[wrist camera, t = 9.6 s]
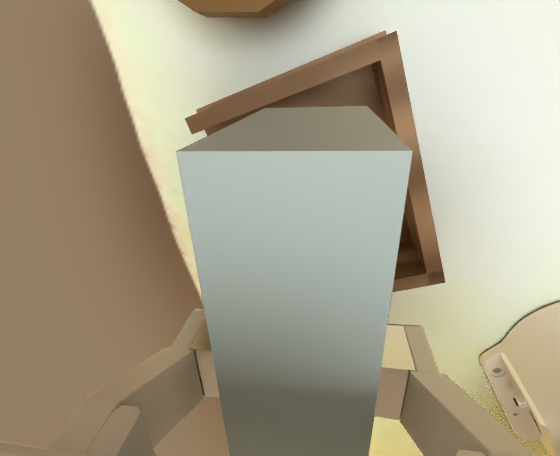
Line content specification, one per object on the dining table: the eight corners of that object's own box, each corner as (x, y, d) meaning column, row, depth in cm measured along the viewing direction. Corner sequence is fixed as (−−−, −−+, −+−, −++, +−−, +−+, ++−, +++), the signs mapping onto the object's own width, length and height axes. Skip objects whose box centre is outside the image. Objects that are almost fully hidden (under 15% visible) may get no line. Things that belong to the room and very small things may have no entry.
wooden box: (426, 244, 33) (450, 287, 26) (275, 277, 37) (261, 321, 31) (382, 32, 25) (399, 17, 19) (202, 108, 30) (164, 117, 24)
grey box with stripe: (263, 108, 11) (173, 151, 5) (368, 105, 11) (417, 150, 4) (277, 355, 16) (241, 527, 10) (348, 362, 16) (356, 549, 10)
